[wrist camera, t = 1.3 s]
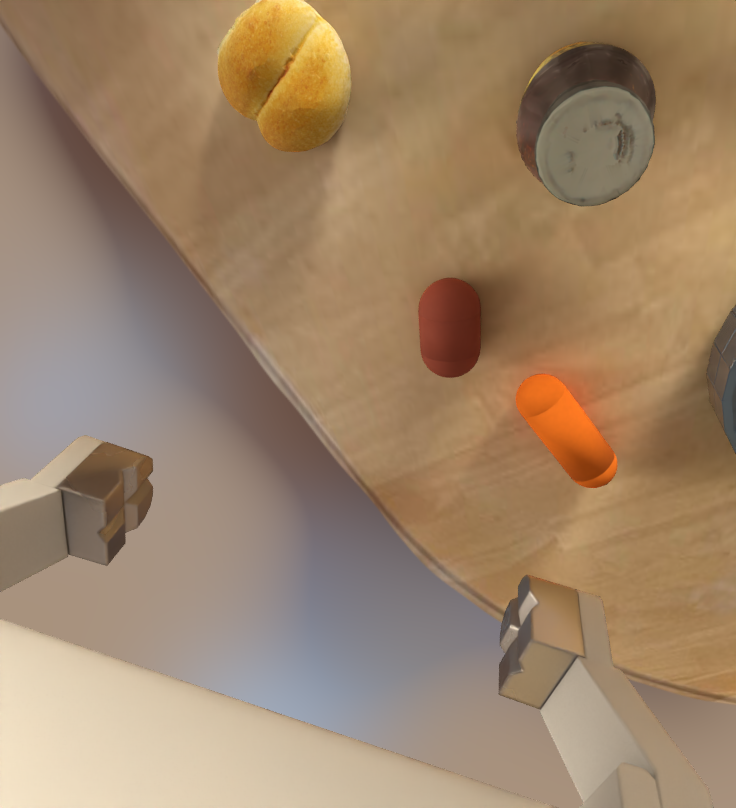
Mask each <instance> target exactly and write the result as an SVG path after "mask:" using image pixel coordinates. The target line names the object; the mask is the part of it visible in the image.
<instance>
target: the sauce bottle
mask: <svg viewBox="0 0 736 808" xmlns="http://www.w3.org/2000/svg"><path fill="white" fill-rule="evenodd" d="M655 105H656V96H655V89H654V84H653V81H652V79H651V76H650V74H649V72H648V71H647V69H646V68H645V66H644V65H643V64H642V63H641V62H640V61H639V60H638V59H637V58H636V57H635V56H634V55H632V54H631V53H630V52H628V51H626V50H624V49H622V48H619V47H616V46H613V45H609V44H604V43H595V42H578V43H574V44H570V45H568V46H565V47H563V48H561V49H559V50H557V51H556V52H554V53H553V54H551V55H550V56H549V57H547V58H546V59H545V60H544V61H543V62H542V63H541V65H540V66H539V67H538V68H537V70H536V71H535V73H534V75H533V76H532V78H531V79H530V81H529V83H528V85H527V88H526V90H525V92H524V94H523V97H522V100H521V103H520V107H519V111H518V118H517V121H516V123H517V142H518V147H519V151H520V153H521V158H522V160H523V161H524V163H525V165H526V166H527V168H528V169H529V170H530V171H531V173H532V174H533V176H535V177H536V178H537V179H538V180H539V181H540V182H542V183H543V184H544V186H545V187H546V188H547V189H548V191H549V192H551V193H552V194H553V195H554V196H555V197H557V198H558V199H560V200H562V201H564V202H567V203H570V204H574V205H578V206H595V205H600V204H603V203H606V202H608V201H611V200H613V199H616V198H617V197H619V196H620V195H622V194H623V193H625V192H626V191H628V190H629V189H630V188H631V187H632V186H633V185H634V184H635V183H636V182H637V181H638V180H640V177H641V175H642V174H643V173H644V171H645V170H646V168H647V167H648V163H649V160H650V158H651V156H652V153H653V149H654V145H655V135H654V125H653V117H654V112H655Z"/></svg>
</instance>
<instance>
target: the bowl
mask: <svg viewBox="0 0 736 808" xmlns="http://www.w3.org/2000/svg"><path fill="white" fill-rule="evenodd" d="M706 374H707V383H708V393H709V401H710V403H711V405H712V407H713V409H714V411H715V413H716V415H717V417H718V419H719V421H720V423H721V425H722V427H723V430H724V432H725V434H726V436H727V438H728V440H729V442H730V444H731V446H732V448H733V450H734V452H735V454H736V306H735V307H734V308H733V309H732V311H731V312H730V313H729V315H728V317H727V319H726V321H725V322H724V324H723V326H722V328H721V329H720V331H719V333H718V335H717V337H716V338H715V340H714V343H713V346H712V351H711V355H710V360H709V364H708V368H707V373H706Z"/></svg>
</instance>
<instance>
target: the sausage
mask: <svg viewBox="0 0 736 808" xmlns="http://www.w3.org/2000/svg"><path fill="white" fill-rule="evenodd" d="M418 312H419V330H420V348H421V355H422V358H423V361H424V363H425V364H426V366H427V367H428V368H429V369H430V370H431V371H432V372H433V373H435V374H437V375H439V376H442V377H447V378H453V377H459V376H462V375H463V374H465V373H467V372H468V371H470V370H471V369H472V368H473V367H474V365H475V364H476V362H477V361H478V358H479V355H480V349H481V307H480V300H479V297H478V295H477V293H476V292H475V290H474V289H473V288H472V287H471V286H470V285H469V284H468V283H466V282H465V281H462V280H459V279H456V278H444V279H441V280H438V281H436V282H434V283H433V284H431V285H430V286H429V287H428V288H427V289H426V290H425V291H424V293H423V295H422V297H421V299H420V302H419V311H418Z"/></svg>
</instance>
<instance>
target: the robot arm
mask: <svg viewBox="0 0 736 808" xmlns="http://www.w3.org/2000/svg"><path fill="white" fill-rule="evenodd" d="M152 472H153V460H152V458H150V457H149V456H146V455H143V454H140V453H137V452H134V451H132V450H129V449H126V448H123V447H120V446H117V445H114V444H111V443H108V442H104V441H101V440H98V439H95V438H92V437H89V436H86V435H84V436H82V437H78V438H77V439H76V440H75V441H74V442H72V443H71V444H70V445H69V446H68V447H67V448H66V449H64V450H63V451H62V452H61V453H60V454H59V455H58V456H57V457H55V458H54V459H53V460H52V461H51V462H50V463H49V464H48V465H46V466H45V467H44V468H43V469H42V470H41V471H40V472H39V473H37V474H36V475H35V476H34V477H33V478H32V479H31V480H28V479H24V478H22V479H19V480H16V481H13V482H9V483H6V484H3V485H0V592H1V591H3V590H5V589H7V588H9V587H11V586H13V585H15V584H17V583H19V582H21V581H22V580H24V579H26V578H28V577H30V576H32V575H34V574H36V573H38V572H40V571H42V570H44V569H46V568H48V567H49V566H51V565H53V564H55V563H57V562H59V561H61V560H63V559H65V558H67V557H68V554H69V555H72V556H75V557H79V558H82V559H86V560H89V561H92V562H96V563H99V564H102V565H106V566H107V565H108V564H109V563H110V562H111V561H112V559H113V558H114V556H115V555H116V554H117V553H118V552H119V550H120V549H121V548H122V547H123V545H124V544H125V533H126V532H129V531H131V530H134V529H136V528H137V527H138V526H139V525H140V523H141V522H142V521H143V520H144V518H145V516H146V514H147V512H148V509H149V508H150V505H151V501H152V496H153V486H152V485H151V483H150V482H149V480H148V479H147V478H148V476H149V475H150V474H151V473H152ZM500 646H501V648H502V649H503V651H504V653H505V655H504V657H503V659H502V661H501V662H500V664H499V695H501V696H504V697H507V698H510V699H513V700H515V701H518V702H521V703H524V704H526V705H529V706H532V707H535V708H537V709H540V713H541V716H542V718H543V720H544V722H545V724H546V726H547V728H548V730H549V732H550V734H551V736H552V738H553V740H554V742H555V745H556V747H557V749H558V751H559V753H560V755H561V757H562V759H563V761H564V763H565V765H566V768H567V770H568V771H569V774H570V776H571V778H572V780H573V782H574V784H575V786H576V788H577V790H578V793H579V795H580V797H581V798H582V801H583V804H582V805H581V806H580V807H579V808H714V807H713V803H712V799H711V795H710V792H709V788H708V787H707V786H706V784H705V783H704V782H703V780H702V779H701V778H700V776H699V775H698V774H697V772H696V771H695V769H694V768H693V767H692V766H691V764H690V763H689V761H688V760H687V759H686V758H685V756H684V755H683V753H682V752H681V751H680V749H679V748H678V747H677V745H676V744H675V743H674V741H673V740H672V738H671V737H670V736H669V734H668V733H667V732H666V730H665V729H664V728H663V726H662V725H661V724H660V722H659V721H658V719H657V718H656V717H655V715H654V714H653V713H652V711H651V710H650V709H649V707H648V706H647V705H646V703H645V702H644V700H643V699H642V698H641V697H640V695H639V694H638V693H637V691H636V690H635V688H634V687H633V686H632V684H631V683H630V682H629V680H628V679H627V677H626V676H625V675H624V673H623V672H622V671H621V670H619V669H616V668H614V667H613V660H612V654H611V648H610V642H609V636H608V630H607V624H606V618H605V612H604V606H603V601H602V599H601V598H600V596H597V595H593V594H590V593H587V592H583V591H580V590H577V589H573V588H570V587H566V586H563V585H560V584H557V583H553V582H550V581H547V580H543V579H540V578H537V577H533V576H530V575H526V576H524V577H523V578H522V580H521V582H520V584H519V586H518V597H517V598H515V599H512V600H510V603H509V605H508V607H507V609H506V611H505V614H504V617H503V621H502V625H501V632H500ZM0 808H557V807H554V806H551V805H548V804H545V803H542V802H539V801H536V800H533V799H531V798H528V797H525V796H522V795H519V794H516V793H513V792H510V791H507V790H504V789H501V788H498V787H495V786H492V785H489V784H486V783H483V782H480V781H478V780H474V779H472V778H469V777H466V776H463V775H459V774H457V773H454V772H451V771H448V770H445V769H442V768H439V767H436V766H433V765H430V764H427V763H424V762H421V761H419V760H416V759H413V758H410V757H406V756H404V755H401V754H398V753H395V752H392V751H389V750H386V749H383V748H380V747H377V746H374V745H371V744H368V743H365V742H362V741H359V740H356V739H353V738H350V737H347V736H344V735H342V734H338V733H335V732H333V731H330V730H327V729H324V728H321V727H318V726H315V725H312V724H308V723H306V722H303V721H300V720H297V719H294V718H291V717H288V716H285V715H282V714H279V713H276V712H273V711H270V710H268V709H265V708H262V707H258V706H255V705H253V704H250V703H247V702H244V701H241V700H238V699H235V698H232V697H229V696H226V695H224V694H221V693H218V692H215V691H212V690H209V689H206V688H203V687H200V686H197V685H194V684H191V683H188V682H185V681H182V680H179V679H177V678H174V677H171V676H168V675H165V674H162V673H159V672H156V671H153V670H150V669H147V668H144V667H141V666H138V665H135V664H132V663H129V662H127V661H123V660H121V659H117V658H115V657H112V656H109V655H106V654H103V653H100V652H97V651H94V650H91V649H88V648H85V647H82V646H79V645H76V644H73V643H70V642H68V641H65V640H62V639H58V638H55V637H53V636H50V635H47V634H44V633H41V632H38V631H35V630H32V629H29V628H26V627H23V626H20V625H18V624H15V623H11V622H9V621H6V620H3V619H0Z"/></svg>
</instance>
